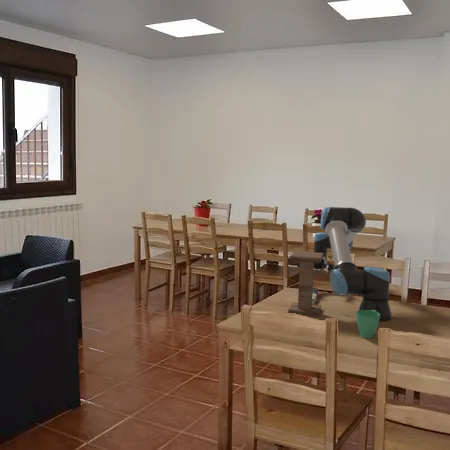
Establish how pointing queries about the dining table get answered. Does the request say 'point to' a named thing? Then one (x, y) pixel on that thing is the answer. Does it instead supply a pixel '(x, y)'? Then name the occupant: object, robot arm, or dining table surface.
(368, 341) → the dining table surface
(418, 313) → the dining table surface
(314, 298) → the bar
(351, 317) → the dining table surface
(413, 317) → the dining table surface
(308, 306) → the stand
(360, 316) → the mug
